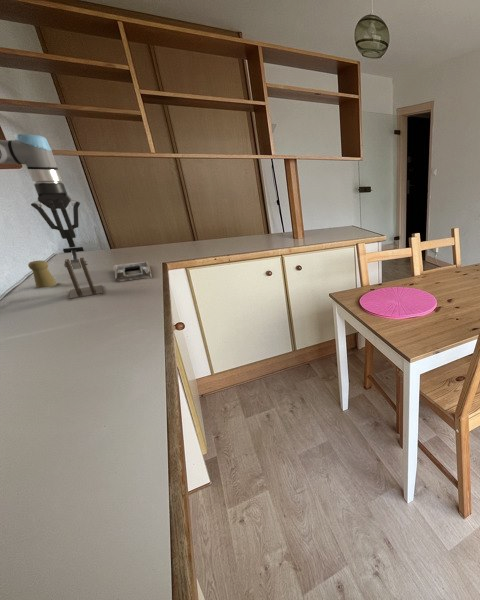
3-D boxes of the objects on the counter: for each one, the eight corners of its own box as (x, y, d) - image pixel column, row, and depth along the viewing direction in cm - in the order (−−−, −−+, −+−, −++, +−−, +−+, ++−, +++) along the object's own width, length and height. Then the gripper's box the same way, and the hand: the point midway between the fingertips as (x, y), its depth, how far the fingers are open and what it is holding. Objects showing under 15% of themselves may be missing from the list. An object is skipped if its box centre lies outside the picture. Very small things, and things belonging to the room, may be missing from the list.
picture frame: (149, 266, 158) (147, 261, 157) (154, 278, 141) (152, 272, 139) (114, 271, 150) (112, 265, 149) (115, 284, 132) (113, 277, 131)
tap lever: (64, 252, 122) (62, 247, 121) (84, 250, 125) (81, 245, 124) (67, 270, 115) (64, 264, 114) (87, 267, 118) (85, 262, 117)
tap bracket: (71, 292, 122) (58, 258, 117) (102, 287, 128) (90, 254, 123) (70, 301, 114) (55, 264, 109) (103, 295, 120) (90, 260, 115)
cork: (32, 288, 125) (20, 262, 121) (51, 284, 131) (40, 258, 127) (43, 290, 124) (32, 263, 120) (62, 285, 130) (51, 259, 126)
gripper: (73, 182, 120) (95, 243, 129) (23, 182, 112) (49, 247, 121) (73, 182, 115) (95, 246, 124) (19, 182, 107) (47, 250, 115)
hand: (72, 246), depth 122 cm, fingers closed
